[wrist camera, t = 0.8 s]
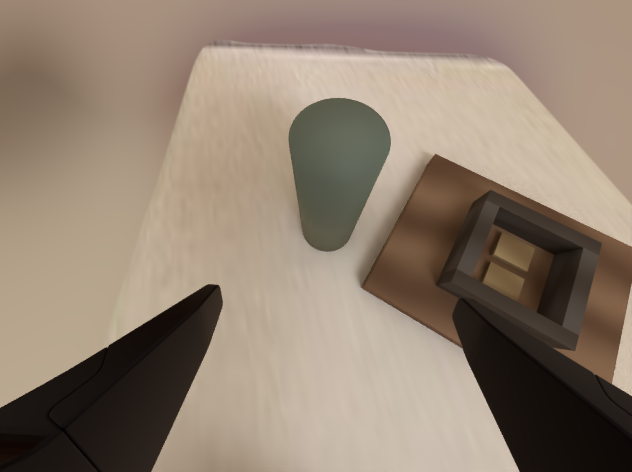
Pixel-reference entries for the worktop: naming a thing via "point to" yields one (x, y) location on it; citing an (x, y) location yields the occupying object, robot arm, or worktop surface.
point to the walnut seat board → (505, 266)
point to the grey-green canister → (335, 166)
